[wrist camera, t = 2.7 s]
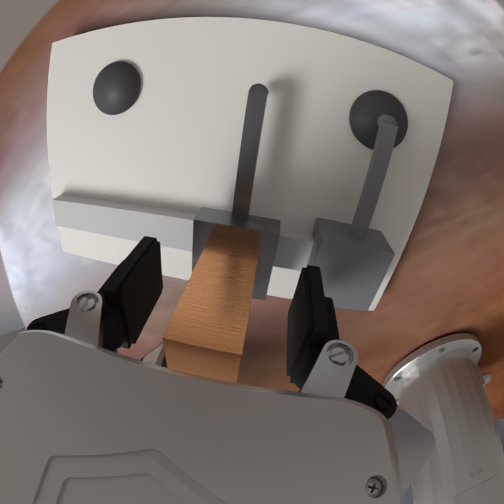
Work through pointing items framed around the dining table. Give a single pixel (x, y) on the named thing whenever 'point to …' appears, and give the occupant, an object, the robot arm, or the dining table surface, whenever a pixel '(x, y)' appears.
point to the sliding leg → (225, 270)
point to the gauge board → (229, 141)
